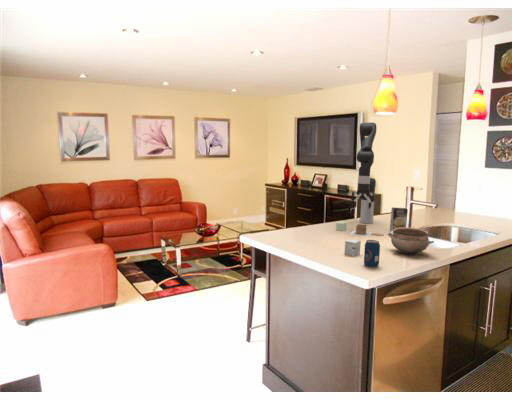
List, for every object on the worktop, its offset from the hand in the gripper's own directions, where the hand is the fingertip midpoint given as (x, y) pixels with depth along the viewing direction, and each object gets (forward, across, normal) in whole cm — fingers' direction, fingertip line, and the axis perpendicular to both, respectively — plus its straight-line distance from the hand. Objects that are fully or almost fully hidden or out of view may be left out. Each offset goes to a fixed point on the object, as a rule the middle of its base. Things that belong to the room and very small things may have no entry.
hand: (362, 207), depth 253 cm
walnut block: (+17, 0, +1) cm, 17 cm away
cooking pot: (+18, -31, +35) cm, 50 cm away
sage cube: (+17, +14, -4) cm, 22 cm away
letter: (+17, 0, +1) cm, 17 cm away
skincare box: (+18, -4, +52) cm, 55 cm away
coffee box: (+17, -21, -18) cm, 33 cm away
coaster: (+17, -10, -1) cm, 20 cm away
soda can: (+19, -16, +68) cm, 72 cm away
